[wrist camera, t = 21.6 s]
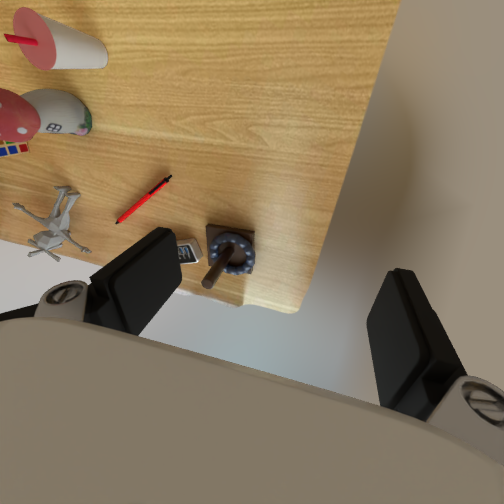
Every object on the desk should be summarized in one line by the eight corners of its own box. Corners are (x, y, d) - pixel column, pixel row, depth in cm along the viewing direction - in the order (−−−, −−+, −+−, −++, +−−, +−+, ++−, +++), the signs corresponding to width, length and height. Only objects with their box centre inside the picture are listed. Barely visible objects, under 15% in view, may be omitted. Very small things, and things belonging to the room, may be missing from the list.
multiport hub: (203, 256, 49) (198, 262, 47) (161, 261, 53) (155, 267, 51) (195, 237, 47) (189, 243, 45) (152, 244, 51) (145, 249, 49)
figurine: (97, 219, 45) (67, 280, 50) (124, 213, 54) (96, 266, 58) (11, 161, 44) (-12, 231, 48) (52, 164, 52) (29, 223, 56)
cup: (92, 80, 36) (5, 72, 26) (74, 34, 33) (-31, 6, 24) (120, 72, 34) (38, 60, 25) (102, 23, 32) (3, -12, 22)
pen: (174, 177, 41) (170, 178, 40) (118, 224, 50) (114, 227, 49) (171, 172, 41) (167, 174, 40) (115, 221, 50) (111, 223, 49)
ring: (257, 235, 41) (254, 240, 40) (254, 275, 46) (252, 280, 45) (210, 228, 43) (206, 232, 42) (212, 266, 48) (209, 271, 47)
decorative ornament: (55, 129, 42) (-55, 140, 30) (42, 85, 39) (-90, 77, 26) (100, 139, 41) (4, 155, 29) (91, 94, 37) (-24, 90, 25)
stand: (254, 231, 42) (234, 266, 33) (252, 270, 47) (234, 311, 38) (208, 223, 44) (177, 255, 35) (210, 262, 49) (184, 299, 40)
